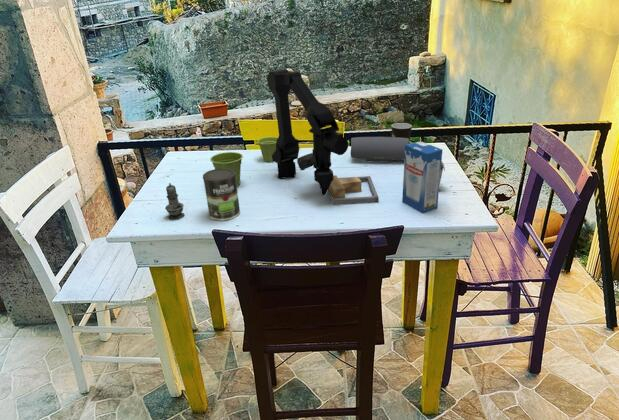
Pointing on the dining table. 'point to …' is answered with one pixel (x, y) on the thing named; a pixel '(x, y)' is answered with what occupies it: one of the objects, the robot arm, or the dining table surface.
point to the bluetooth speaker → (378, 148)
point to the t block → (344, 186)
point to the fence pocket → (355, 200)
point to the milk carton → (421, 176)
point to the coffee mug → (401, 130)
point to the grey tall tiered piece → (174, 204)
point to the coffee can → (221, 194)
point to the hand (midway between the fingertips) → (323, 189)
